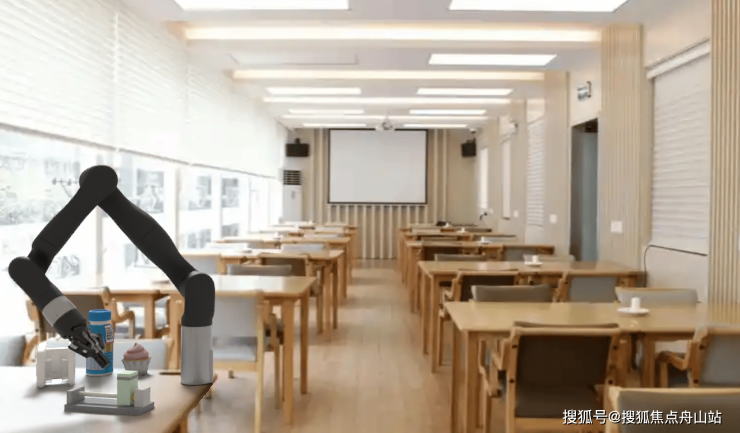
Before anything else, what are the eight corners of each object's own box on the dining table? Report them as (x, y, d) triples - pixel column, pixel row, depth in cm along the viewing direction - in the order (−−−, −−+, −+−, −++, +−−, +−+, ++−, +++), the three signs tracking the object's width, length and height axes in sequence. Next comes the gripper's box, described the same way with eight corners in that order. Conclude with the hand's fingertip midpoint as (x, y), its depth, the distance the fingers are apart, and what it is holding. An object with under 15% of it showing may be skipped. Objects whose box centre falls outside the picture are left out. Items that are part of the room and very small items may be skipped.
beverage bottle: (87, 377, 231) (87, 313, 231) (83, 372, 238) (83, 309, 238) (116, 375, 235) (116, 311, 235) (111, 370, 242) (111, 308, 242)
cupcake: (119, 372, 239) (119, 340, 239) (149, 369, 243) (149, 338, 243) (122, 378, 231) (122, 345, 231) (153, 375, 235) (154, 343, 235)
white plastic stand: (74, 388, 218) (74, 348, 218) (34, 390, 214) (35, 350, 214) (75, 377, 232) (75, 339, 232) (38, 379, 228) (38, 341, 228)
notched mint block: (116, 404, 193) (116, 373, 192) (125, 400, 197) (125, 370, 196) (129, 405, 192) (130, 374, 192) (137, 401, 196) (138, 371, 196)
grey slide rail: (64, 410, 193) (64, 387, 193) (82, 402, 201) (82, 380, 201) (138, 415, 189) (139, 392, 189) (154, 407, 197) (154, 384, 197)
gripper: (58, 310, 190) (102, 361, 188) (87, 304, 203) (129, 351, 201) (39, 330, 192) (83, 381, 189) (70, 323, 205) (111, 370, 202)
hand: (106, 365), depth 195 cm, fingers closed
